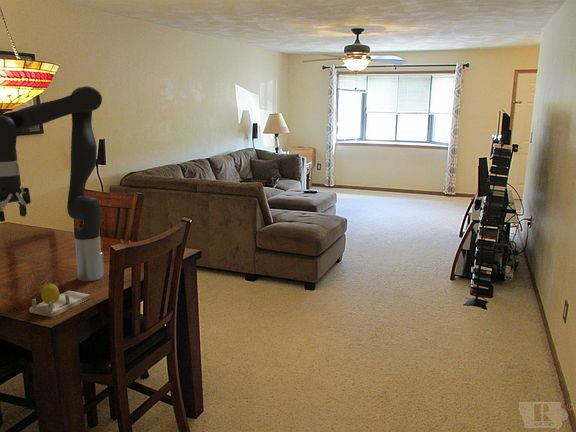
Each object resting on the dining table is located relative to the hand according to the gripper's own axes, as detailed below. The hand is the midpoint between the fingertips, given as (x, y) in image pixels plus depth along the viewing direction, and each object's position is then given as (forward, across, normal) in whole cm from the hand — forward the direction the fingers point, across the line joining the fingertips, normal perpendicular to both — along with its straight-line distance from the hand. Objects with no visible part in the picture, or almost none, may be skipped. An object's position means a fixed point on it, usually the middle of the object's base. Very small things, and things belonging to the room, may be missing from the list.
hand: (12, 218), depth 170 cm
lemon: (+27, +7, +22) cm, 36 cm away
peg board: (+28, +3, +22) cm, 36 cm away
